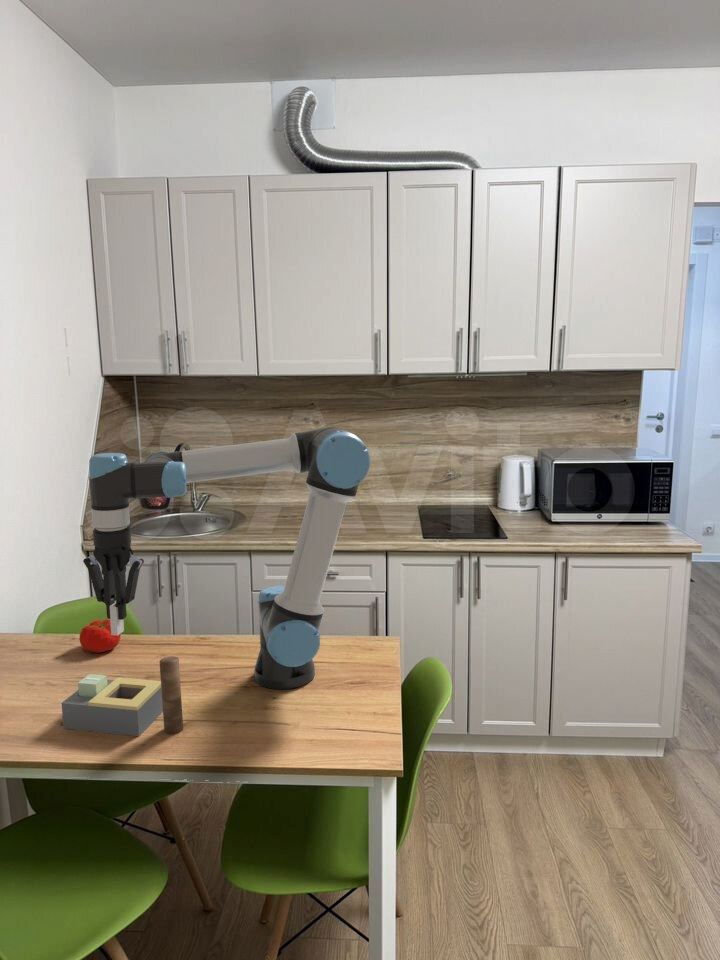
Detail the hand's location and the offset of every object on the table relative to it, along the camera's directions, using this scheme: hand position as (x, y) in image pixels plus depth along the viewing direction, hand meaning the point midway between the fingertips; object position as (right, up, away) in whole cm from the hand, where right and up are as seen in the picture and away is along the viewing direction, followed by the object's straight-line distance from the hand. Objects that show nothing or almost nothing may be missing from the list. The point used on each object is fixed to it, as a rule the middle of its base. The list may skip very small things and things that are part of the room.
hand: (117, 632), depth 153 cm
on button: (-7, -15, +6) cm, 18 cm away
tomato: (-19, -14, +43) cm, 49 cm away
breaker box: (-2, -20, +6) cm, 21 cm away
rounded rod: (+12, -21, +1) cm, 24 cm away
